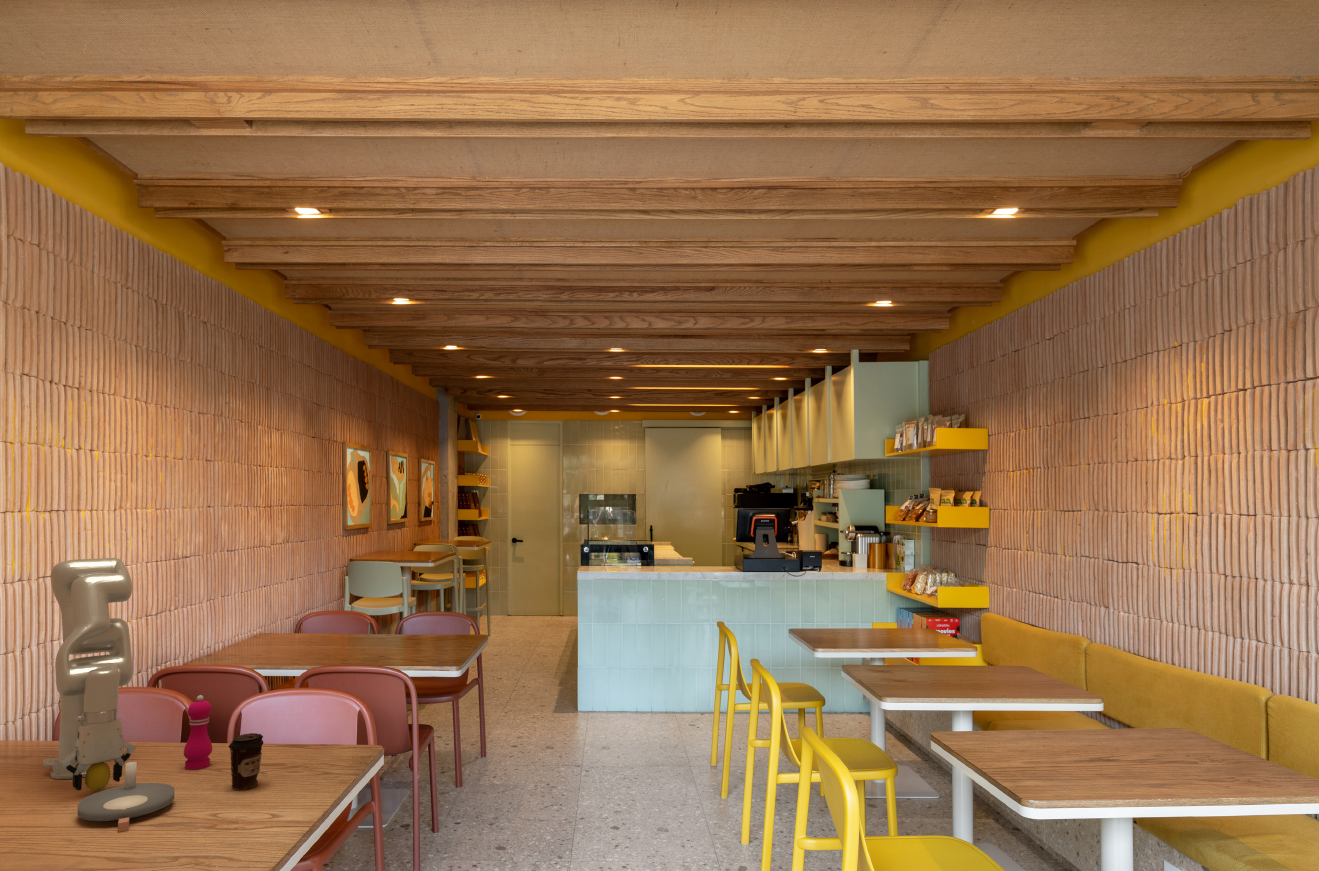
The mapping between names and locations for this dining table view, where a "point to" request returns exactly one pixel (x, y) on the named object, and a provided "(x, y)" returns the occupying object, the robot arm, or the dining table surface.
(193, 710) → the pepper mill
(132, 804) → the turntable
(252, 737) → the coffee cup
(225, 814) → the dining table surface
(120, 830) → the pink rectangular block
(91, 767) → the lemon
